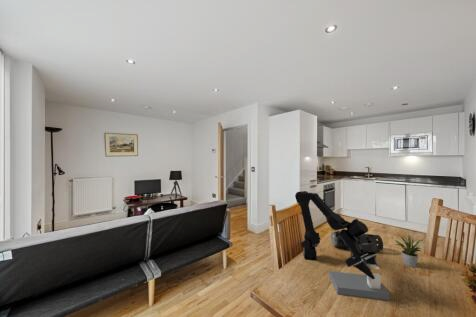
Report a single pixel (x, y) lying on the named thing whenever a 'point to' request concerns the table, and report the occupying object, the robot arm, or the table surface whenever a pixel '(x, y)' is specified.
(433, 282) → the table surface
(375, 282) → the plug
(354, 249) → the robot arm
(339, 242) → the muzzle brake
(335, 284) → the socket block
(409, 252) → the house plant
